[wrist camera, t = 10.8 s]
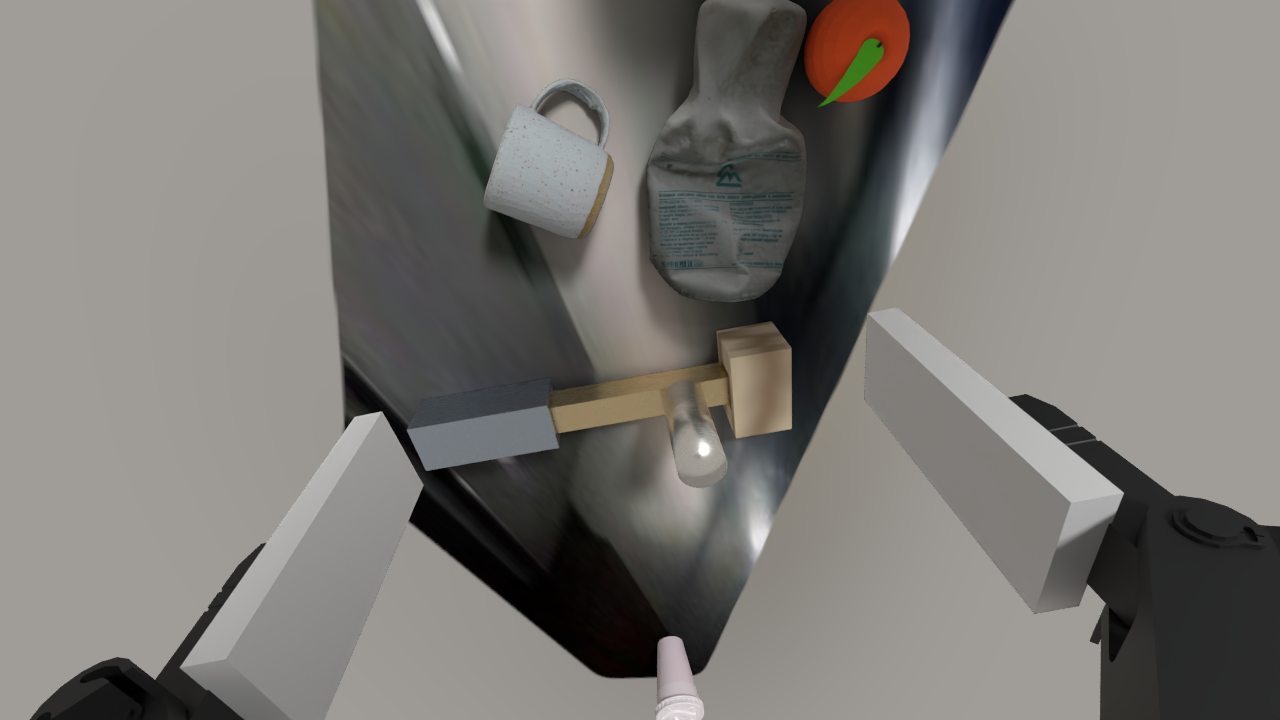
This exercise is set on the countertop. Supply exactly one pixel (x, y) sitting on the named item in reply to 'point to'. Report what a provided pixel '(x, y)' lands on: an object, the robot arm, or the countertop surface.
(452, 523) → the countertop surface
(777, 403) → the socket block
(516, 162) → the ceramic mug
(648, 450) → the countertop surface
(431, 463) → the sleeve
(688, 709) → the smoothie
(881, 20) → the clementine
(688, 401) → the bar with upright post
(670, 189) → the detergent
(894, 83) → the countertop surface
